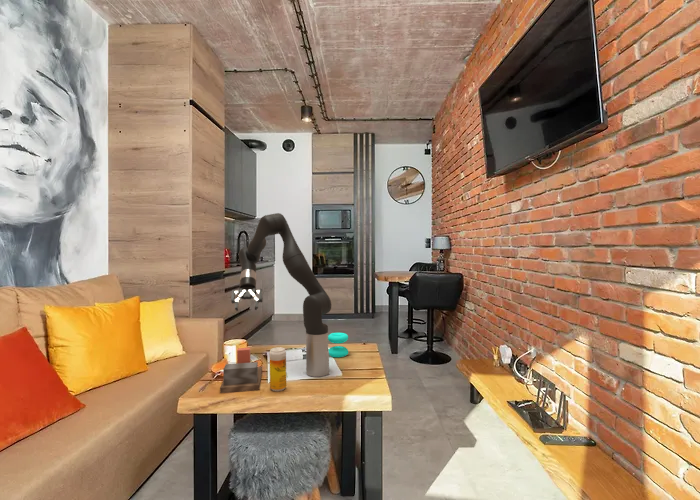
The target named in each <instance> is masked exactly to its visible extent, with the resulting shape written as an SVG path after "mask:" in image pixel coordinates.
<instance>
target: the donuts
mask: <svg viewBox="0 0 700 500" xmlns="http://www.w3.org/2000/svg"><path fill="white" fill-rule="evenodd" d="M348 340H349V334H347V333H345V332H331V333H328V342H330V343H333V344H343V343H345V342H347V341H348ZM328 351H329V357H332V358H344V357H346V356H348V354H349V349H348V348H347V347H346V346H342V345H335V346H332V347H329V348H328Z"/></svg>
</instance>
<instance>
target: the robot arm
mask: <svg viewBox="0 0 700 500" xmlns="http://www.w3.org/2000/svg"><path fill="white" fill-rule="evenodd" d="M274 235H280V237H281V239H282V242H283V250H282V262H283V265H284V267H285V268H286V270H287V272H288V273H289V275H290V276H291V277H292V278H293V279H294V280H295V281H296V282H297V283H299V284H300V286H302V287H303V288H304V289H305V290H306V292H307V293H308V296H306V297H305V298H304V300H303V302H302V303H303V304H302V313H303V326H304V328H305V354H306V355H305V358H306V359H305V360H306V361H305V362H306V368H305V370H306V372H305V373H306V375H307V376H309V377H315V378H316V377H318V378H320V377H324V376H326V375H330V355H329V351H328V350H329V340H328V335H329V327H328V325H327V323H324V322H323V319H322V318H323V317H322V316H324V315H327V314H328V313H330V311H331V309H332V301H331V298H330V296H329V294H328V293H327V292H326V290H325V289H324V287H323V286H322V285H321V283H320V282H319V280H318V279H317V277H316V275H315V274H314V272H313V270H312V268H311V267H310V265H309V263H308V260H307V258H306V257H305V255H304V253H303V252H302V250H301V248H300V247H299V245H298V244H297V241H296V239H295V237H294V235H293V233H292V230H291V228H290V226H289V224H288V221H287V219H286V217H284V215H283V214H282V213H279V212H277V213H270V214H265V215H263V216H261V217H260V219H259V221H258V224H257V226H256V230H255V233H254V236H253V238H252V239H251V241H250V242H249V244H248V245H247V247H244V246H243V247H242V248H241V249H240V250H239V251H238V259H239V264H240V266H241V271H240V275H239V276H240V277H239V289H238V290H235V289H232V290H231V298H230V301H231V303H232V304H234V310H235V311H236V312H238V311H239V303H240V302H242V301H243V300H252V301H253V302H254V311H257V309H259V303H263V301H264V299H263V289H262V288H259V289H257V265H256V264H257V263H259V262H260V259H261V253H262V252H263V250H264V249H265V247H266V246H267V239H266V238H267V237H268V236H274ZM237 295H238V296H237ZM256 295H258V296H259V297H257V296H256ZM236 296H237V298H236Z"/></svg>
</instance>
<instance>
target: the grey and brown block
mask: <svg viewBox="0 0 700 500" xmlns="http://www.w3.org/2000/svg"><path fill="white" fill-rule="evenodd" d="M262 374H263V366H259V364H258V362H257V361H254V362H252V361H251V363H237V362H236V363H226V364H225V365H224V367H223V380H222V382H221V385H220V387H219V394H226V393H240V392H250V391H251V392H252V391H253V392H254V391H260V389H261V382H262Z"/></svg>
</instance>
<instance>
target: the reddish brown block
mask: <svg viewBox="0 0 700 500" xmlns="http://www.w3.org/2000/svg"><path fill="white" fill-rule="evenodd" d="M236 360H237V361H236V363H251V362H252V361H251V347H238V348H237V350H236Z"/></svg>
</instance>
